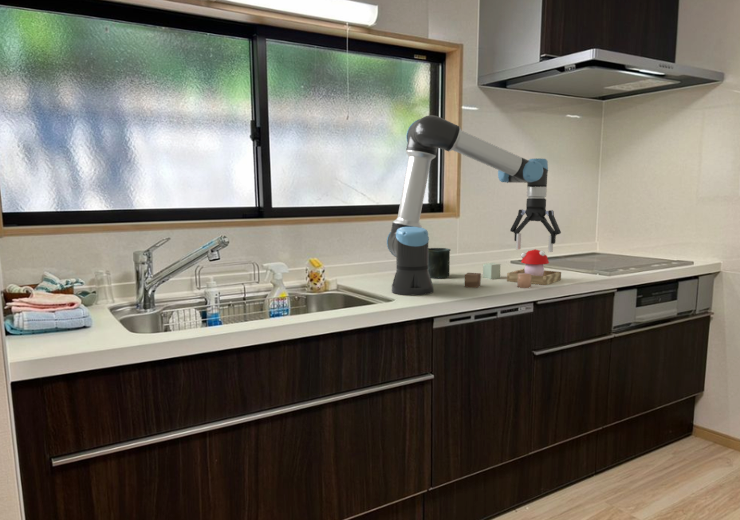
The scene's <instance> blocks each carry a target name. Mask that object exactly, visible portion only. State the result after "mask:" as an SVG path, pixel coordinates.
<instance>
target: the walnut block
mask: <svg viewBox="0 0 740 520" xmlns="http://www.w3.org/2000/svg"><path fill="white" fill-rule="evenodd" d="M481 275H482V274H481V272H466V273H465V274H464V288H472V289H473V288H474V289H478V288H480V287H481V283H482V281H481V279H482V278H481V277H482V276H481Z"/></svg>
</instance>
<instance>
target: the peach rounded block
mask: <svg viewBox="0 0 740 520" xmlns="http://www.w3.org/2000/svg"><path fill="white" fill-rule="evenodd" d="M516 283H517V288H519V287H520V289H530V288H529V287H531V288H532V284H531V274H529V273H518V282H516Z"/></svg>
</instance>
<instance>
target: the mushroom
mask: <svg viewBox="0 0 740 520" xmlns="http://www.w3.org/2000/svg"><path fill="white" fill-rule="evenodd" d="M520 257H521V258H522V259H521V262H520V263H521V264H525V266H524V268H523V269H524V270H525V273H529V274H531V275H536V276H543V274H544V270H545V268H544V267H545V266H544V265H548V264H549V263H550V262H549V259H548V258H549V257H548V255H547V254H546V253H545V251H544V250H539V249H531V250H528V251H527V252H523V251H522V253H521V254H520Z"/></svg>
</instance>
